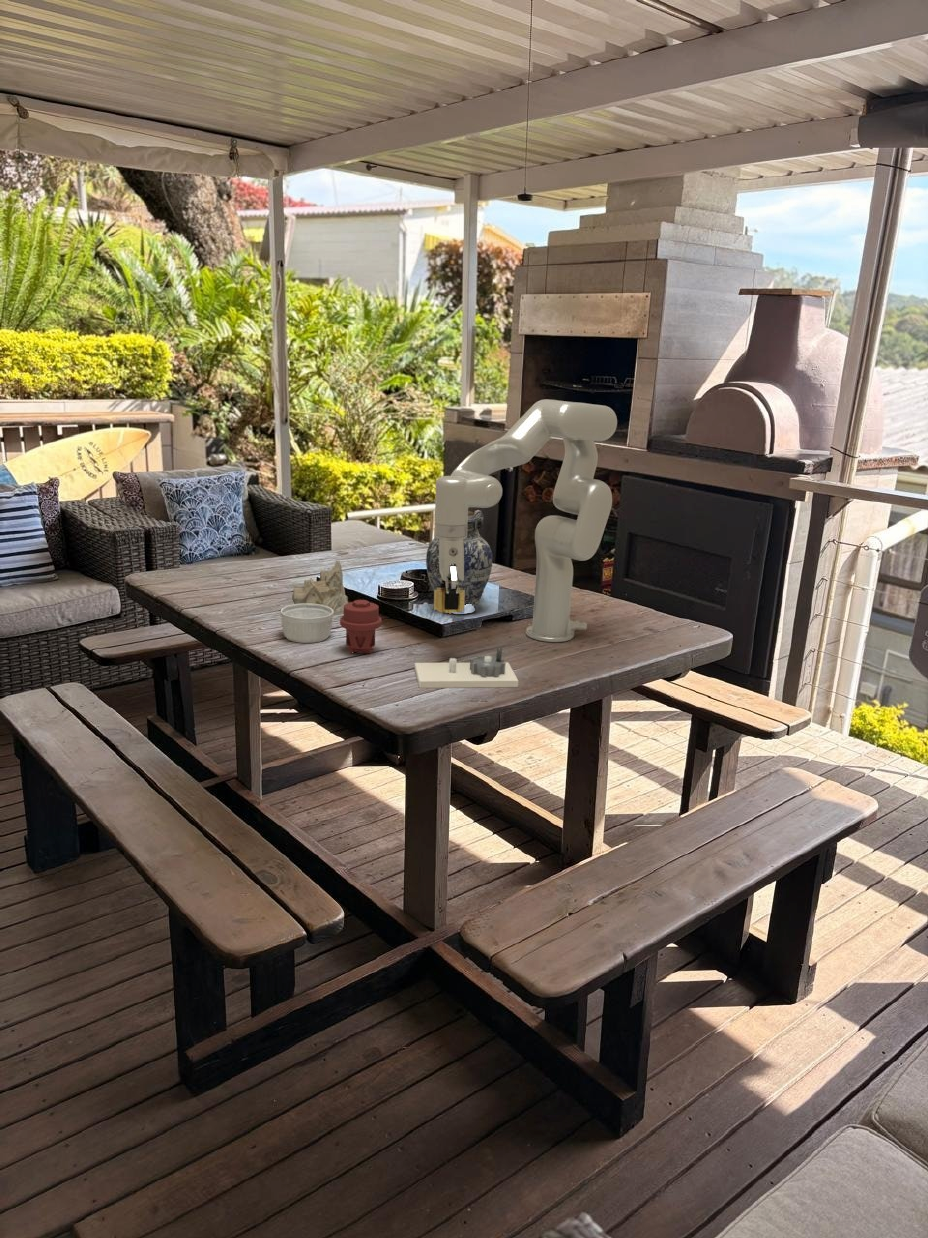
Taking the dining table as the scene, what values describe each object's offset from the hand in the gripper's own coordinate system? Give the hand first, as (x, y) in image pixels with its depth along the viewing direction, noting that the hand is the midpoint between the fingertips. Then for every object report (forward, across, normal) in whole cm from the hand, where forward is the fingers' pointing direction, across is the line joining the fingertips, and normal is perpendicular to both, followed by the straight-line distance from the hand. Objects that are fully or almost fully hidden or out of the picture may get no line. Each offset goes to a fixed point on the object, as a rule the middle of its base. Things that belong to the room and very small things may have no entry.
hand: (449, 603), depth 216 cm
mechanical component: (+14, +6, +21) cm, 25 cm away
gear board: (+13, -13, -2) cm, 19 cm away
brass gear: (+1, 0, 0) cm, 1 cm away
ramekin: (+13, +17, +34) cm, 40 cm away
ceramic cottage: (+14, +42, +30) cm, 54 cm away
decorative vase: (+14, +41, -8) cm, 44 cm away
